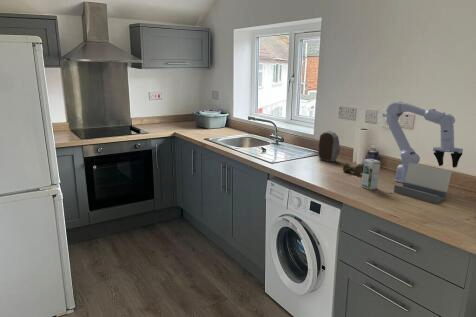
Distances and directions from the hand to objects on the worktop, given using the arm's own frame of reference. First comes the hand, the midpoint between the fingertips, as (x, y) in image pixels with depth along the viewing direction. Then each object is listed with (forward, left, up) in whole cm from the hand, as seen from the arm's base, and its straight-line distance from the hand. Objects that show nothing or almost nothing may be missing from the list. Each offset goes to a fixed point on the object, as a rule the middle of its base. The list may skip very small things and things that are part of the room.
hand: (447, 166), depth 180 cm
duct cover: (-4, -13, -4) cm, 14 cm away
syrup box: (-25, -28, -13) cm, 40 cm away
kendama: (-46, -8, -13) cm, 48 cm away
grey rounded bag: (-74, +3, -13) cm, 75 cm away
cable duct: (-4, -19, -12) cm, 23 cm away
